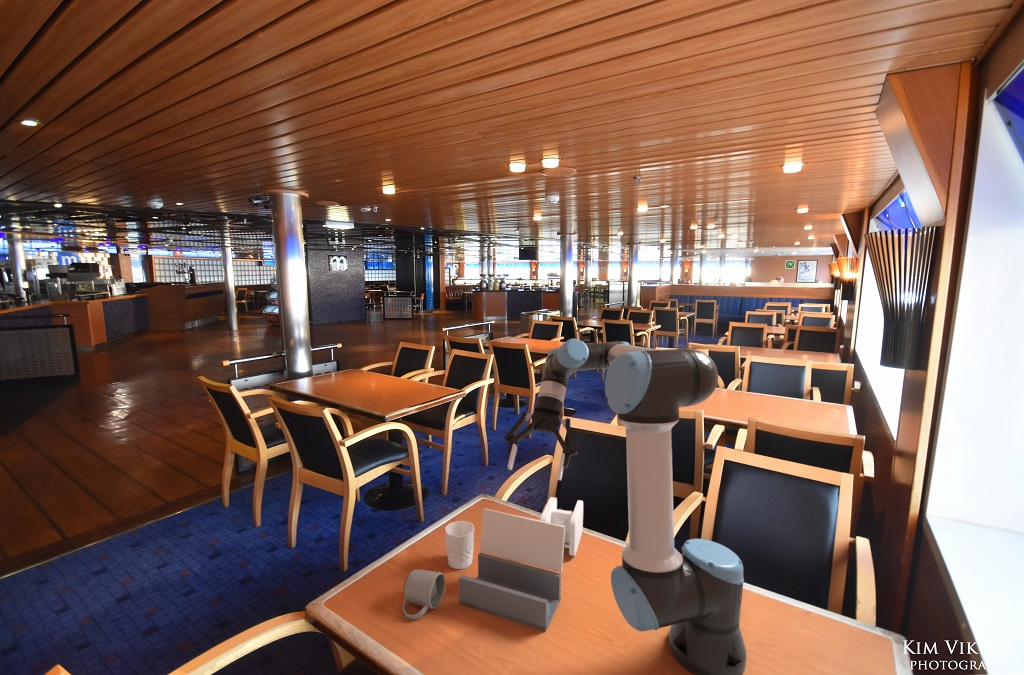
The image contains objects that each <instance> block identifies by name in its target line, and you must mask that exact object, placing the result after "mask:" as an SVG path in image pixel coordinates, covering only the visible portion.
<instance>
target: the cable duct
mask: <svg viewBox="0 0 1024 675" xmlns="http://www.w3.org/2000/svg"><path fill="white" fill-rule="evenodd" d="M458 581H459V582H458V589H459V590H458V591H459V592H458V594H459V596H458V598H459V600H458V601H459V602H458V603H459V605H461V606H464V607H468V608H470V609H474V610H476V611H480V612H483V613H486V614H489V615H492V616H494V617H499V618H501V619H505V620H508V621H511V622H514V623H517V624H520V625H523V626H527V627H530V628H533V629H536V630H539V631H542V632H547V630H548V628H549V626H550V623H551V621H552V619H553V617H554V615H555V613H556V611H557V609H558V607H559V604H560V603H561V600H562V574H561V573H560V572H556V571H552V570H548V569H545V568H541V567H537V566H533V565H530V564H526V563H522V562H518V561H515V560H511V559H507V558H503V557H500V556H496V555H492V554H488V553H485V552H481V551H480V552H479V553H478V555H477V577H476V578H473V577H470V576H468V575H464V574H461V575H460V576H459V577H458Z"/></svg>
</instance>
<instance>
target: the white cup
mask: <svg viewBox="0 0 1024 675" xmlns="http://www.w3.org/2000/svg"><path fill="white" fill-rule="evenodd" d="M444 532H445V545H446V547H445V549H446V555H447V563H448V566H449V567H451V568H452V569H455V570H464V569H467V568H469V567H470V566H471V565H472V563H473V561H474V556H473V555H474V546H475V544H474V542H475V526H474V524H473V523H472V522H470V521H466V520H456V521H453V522H450V523H449V524H447V525H446V526H445V528H444Z"/></svg>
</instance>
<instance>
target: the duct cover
mask: <svg viewBox="0 0 1024 675" xmlns="http://www.w3.org/2000/svg"><path fill="white" fill-rule="evenodd" d="M481 520H482V521H481V533H480V545H479V546H480V550H479V551H480V552H481V553H484V554H488V555H492V556H496V557H499V558H503V559H507V560H511V561H514V562H518V563H522V564H526V565H529V566H533V567H537V568H541V569H544V570H548V571H552V572H555V573H559V574H561V573H563V565H564V551H565V549H564V545H565V542H564V537H565V526H562V525H557V524H553V523H549V522H544V521H540V520H539V519H534V518H530V517H525V516H521V515H516V514H512V513H508V512H503V511H499V510H496V509H495V510H494V509H489V508H487V507H484V508H482V519H481Z"/></svg>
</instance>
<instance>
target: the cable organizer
mask: <svg viewBox="0 0 1024 675" xmlns="http://www.w3.org/2000/svg"><path fill="white" fill-rule="evenodd" d="M557 499H558V497H555V496H554V497H553V496H550V497H549V499H547V503H545V505H544V508H543V509H542V512H541V514H540V515H539V518H538V520H540V521H544V522H549V523H553V524H557V525H562V526H565V537H564V550H565V549H566V548H567V549H568V552H569V556H572V557H576V555H577V551H578V548H579V545H580V542H581V539H582V535H583V530H584V526H583V525H584V501H583V500H580V499H578V500H577V501H576V503H575V506H574V510H573V511H572V510H571V509H570V510H565V509H564V510H563V509H560V508H559V509H558V507H557V506H558V500H557Z"/></svg>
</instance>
